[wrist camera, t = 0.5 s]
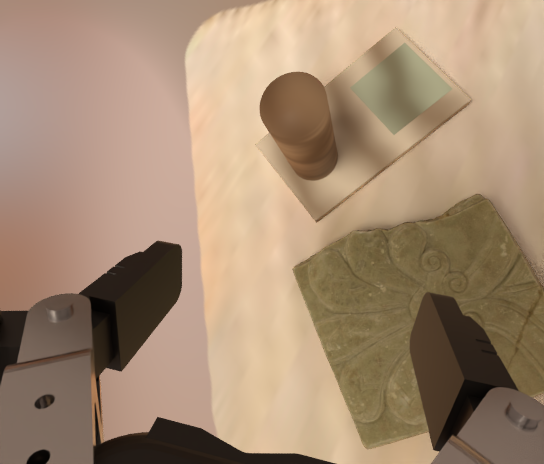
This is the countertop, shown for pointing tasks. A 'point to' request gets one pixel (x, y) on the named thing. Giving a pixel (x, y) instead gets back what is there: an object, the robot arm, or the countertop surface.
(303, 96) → the walnut roller
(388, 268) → the decorative tile
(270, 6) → the countertop surface
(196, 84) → the countertop surface
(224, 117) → the countertop surface
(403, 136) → the birch board
